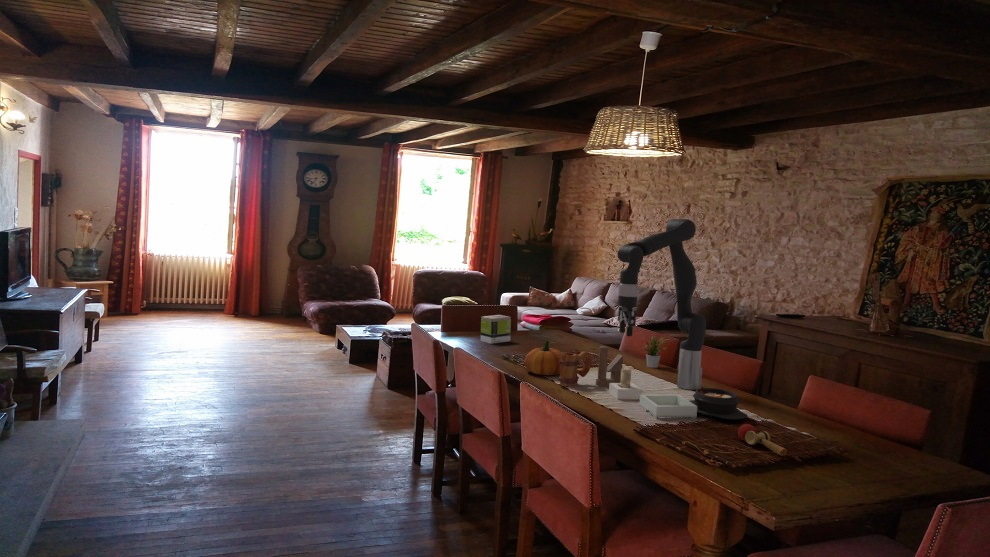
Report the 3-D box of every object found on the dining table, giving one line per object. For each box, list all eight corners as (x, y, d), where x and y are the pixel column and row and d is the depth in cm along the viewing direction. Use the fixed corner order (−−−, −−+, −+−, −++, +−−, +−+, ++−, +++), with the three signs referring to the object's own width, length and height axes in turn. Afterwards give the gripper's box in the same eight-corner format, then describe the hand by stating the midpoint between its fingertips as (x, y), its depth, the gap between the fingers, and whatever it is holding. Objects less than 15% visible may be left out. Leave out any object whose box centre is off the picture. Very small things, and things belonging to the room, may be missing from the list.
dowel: (627, 394, 267) (629, 368, 266) (631, 397, 263) (632, 370, 262) (618, 394, 266) (619, 368, 265) (621, 397, 262) (623, 370, 261)
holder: (631, 394, 270) (632, 383, 270) (640, 401, 261) (641, 389, 260) (608, 394, 269) (609, 383, 268) (617, 401, 259) (617, 389, 258)
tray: (677, 405, 257) (678, 394, 256) (696, 418, 241) (697, 406, 241) (639, 405, 254) (640, 394, 254) (655, 418, 238) (656, 406, 238)
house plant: (675, 369, 321) (677, 337, 320) (651, 371, 316) (653, 338, 315) (657, 363, 335) (659, 332, 333) (635, 364, 329) (637, 333, 328)
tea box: (499, 338, 385) (500, 314, 383) (510, 341, 377) (511, 316, 376) (479, 341, 375) (480, 315, 374) (490, 344, 367) (491, 318, 366)
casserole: (673, 408, 254) (674, 387, 253) (706, 403, 263) (707, 382, 262) (724, 426, 232) (726, 404, 232) (758, 420, 242) (760, 398, 241)
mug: (561, 389, 275) (563, 354, 273) (554, 384, 283) (556, 350, 281) (593, 388, 279) (595, 353, 277) (585, 383, 287) (587, 349, 285)
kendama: (792, 459, 206) (749, 433, 222) (793, 441, 204) (750, 417, 220) (774, 466, 203) (731, 440, 219) (775, 448, 201) (732, 423, 217)
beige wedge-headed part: (621, 387, 281) (623, 347, 280) (599, 389, 278) (602, 347, 276) (616, 385, 285) (619, 345, 283) (595, 386, 281) (597, 346, 279)
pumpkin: (520, 375, 296) (522, 343, 295) (528, 366, 315) (529, 336, 313) (562, 379, 292) (564, 346, 290) (567, 370, 310) (569, 339, 309)
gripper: (643, 297, 256) (640, 337, 257) (630, 293, 270) (628, 331, 271) (625, 296, 255) (622, 337, 256) (613, 292, 269) (611, 331, 270)
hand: (625, 334), depth 264 cm, fingers open, 8 cm apart
